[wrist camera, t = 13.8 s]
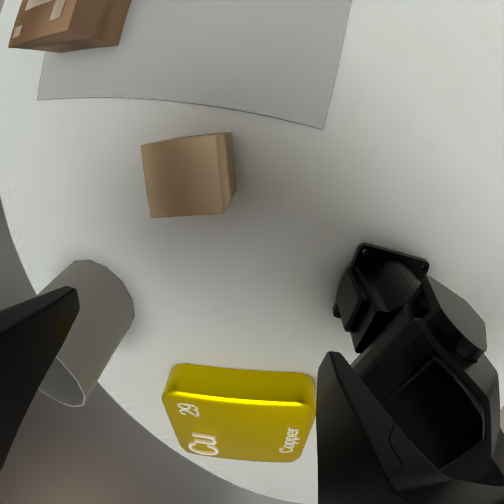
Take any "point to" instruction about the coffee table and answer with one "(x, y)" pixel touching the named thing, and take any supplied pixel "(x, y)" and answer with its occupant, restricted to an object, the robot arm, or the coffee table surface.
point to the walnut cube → (69, 24)
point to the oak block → (189, 175)
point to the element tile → (240, 412)
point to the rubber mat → (214, 57)
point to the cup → (88, 331)
